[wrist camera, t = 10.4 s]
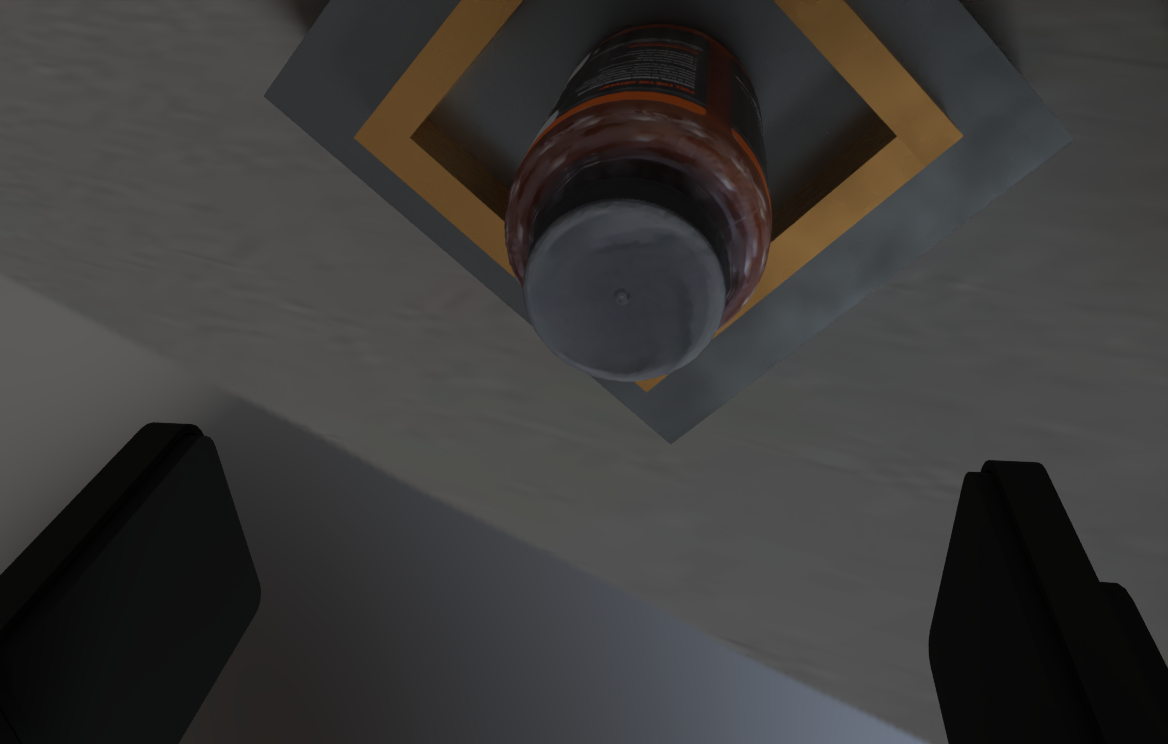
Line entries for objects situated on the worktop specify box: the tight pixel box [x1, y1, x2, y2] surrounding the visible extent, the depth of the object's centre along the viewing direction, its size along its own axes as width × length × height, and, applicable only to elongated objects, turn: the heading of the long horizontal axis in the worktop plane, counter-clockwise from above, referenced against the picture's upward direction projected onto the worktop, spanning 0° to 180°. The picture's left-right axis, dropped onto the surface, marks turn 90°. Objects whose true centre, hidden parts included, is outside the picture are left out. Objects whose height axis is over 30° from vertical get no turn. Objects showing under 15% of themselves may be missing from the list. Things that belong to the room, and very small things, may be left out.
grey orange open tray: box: [264, 0, 1074, 444], centre depth 27 cm, size 22×16×7 cm
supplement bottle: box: [504, 24, 772, 382], centre depth 22 cm, size 6×6×11 cm
